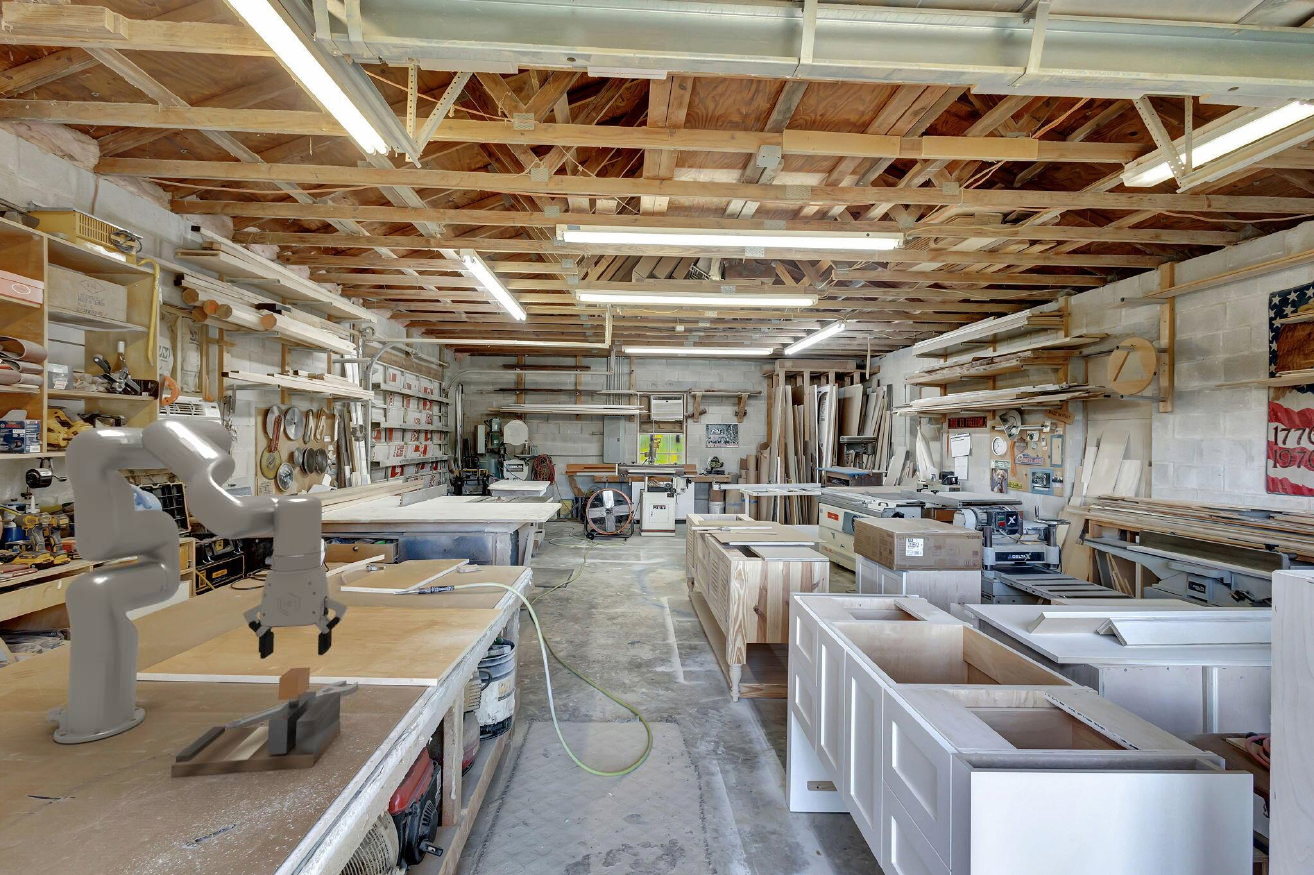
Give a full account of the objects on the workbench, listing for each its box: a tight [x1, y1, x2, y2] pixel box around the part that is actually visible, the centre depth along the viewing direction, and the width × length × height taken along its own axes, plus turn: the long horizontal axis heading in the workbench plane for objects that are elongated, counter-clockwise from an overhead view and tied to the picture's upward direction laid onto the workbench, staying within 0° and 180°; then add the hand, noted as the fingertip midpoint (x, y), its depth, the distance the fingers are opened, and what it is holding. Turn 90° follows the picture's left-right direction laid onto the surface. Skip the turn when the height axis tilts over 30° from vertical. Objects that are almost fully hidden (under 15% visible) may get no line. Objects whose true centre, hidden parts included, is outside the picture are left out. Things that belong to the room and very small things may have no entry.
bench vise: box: [170, 693, 342, 778], centre depth 99 cm, size 22×12×8 cm, turn 100°
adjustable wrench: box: [225, 680, 359, 729], centre depth 117 cm, size 25×6×2 cm, turn 142°
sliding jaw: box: [267, 667, 317, 755], centre depth 100 cm, size 3×11×12 cm, turn 10°
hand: (295, 654), depth 100 cm, fingers open, 9 cm apart
